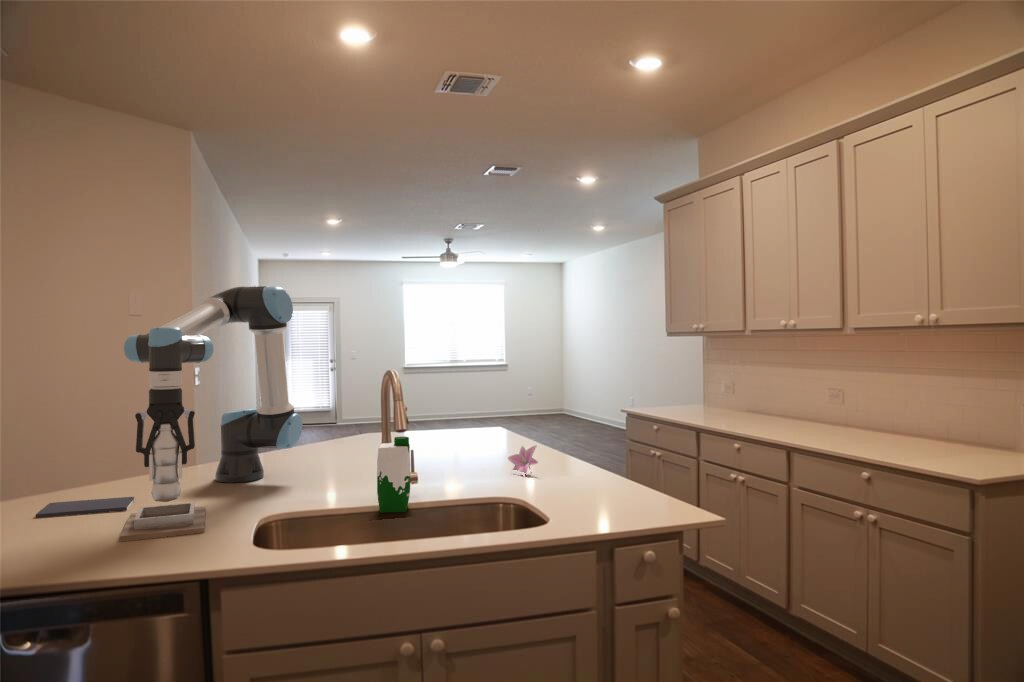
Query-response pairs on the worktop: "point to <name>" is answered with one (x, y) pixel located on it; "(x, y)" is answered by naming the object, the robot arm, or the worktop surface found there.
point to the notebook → (85, 507)
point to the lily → (523, 459)
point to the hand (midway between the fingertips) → (166, 478)
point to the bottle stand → (164, 521)
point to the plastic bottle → (165, 464)
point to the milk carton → (393, 475)
